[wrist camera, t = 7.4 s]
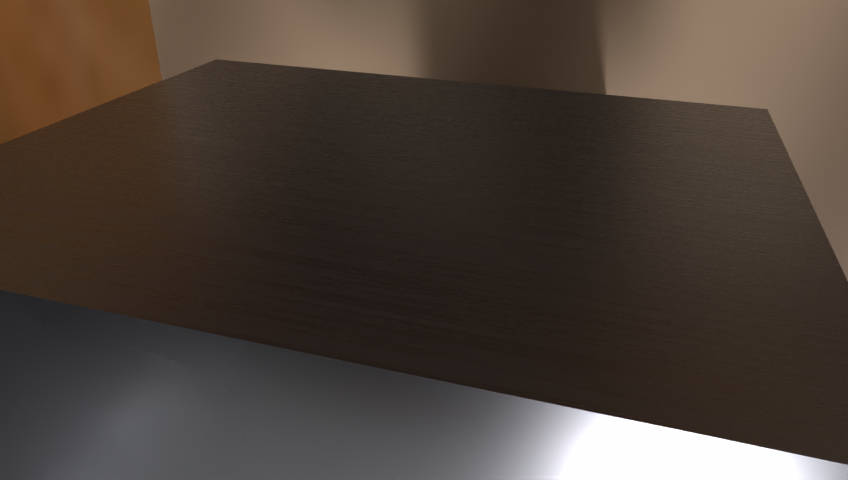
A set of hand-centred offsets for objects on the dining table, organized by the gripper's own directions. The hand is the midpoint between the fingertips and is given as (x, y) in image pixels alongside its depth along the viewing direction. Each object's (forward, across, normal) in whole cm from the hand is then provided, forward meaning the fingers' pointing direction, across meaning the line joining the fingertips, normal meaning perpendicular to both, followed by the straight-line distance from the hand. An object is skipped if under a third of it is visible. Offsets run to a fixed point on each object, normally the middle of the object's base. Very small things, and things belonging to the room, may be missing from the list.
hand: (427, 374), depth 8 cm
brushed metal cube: (+1, 0, 0) cm, 1 cm away
